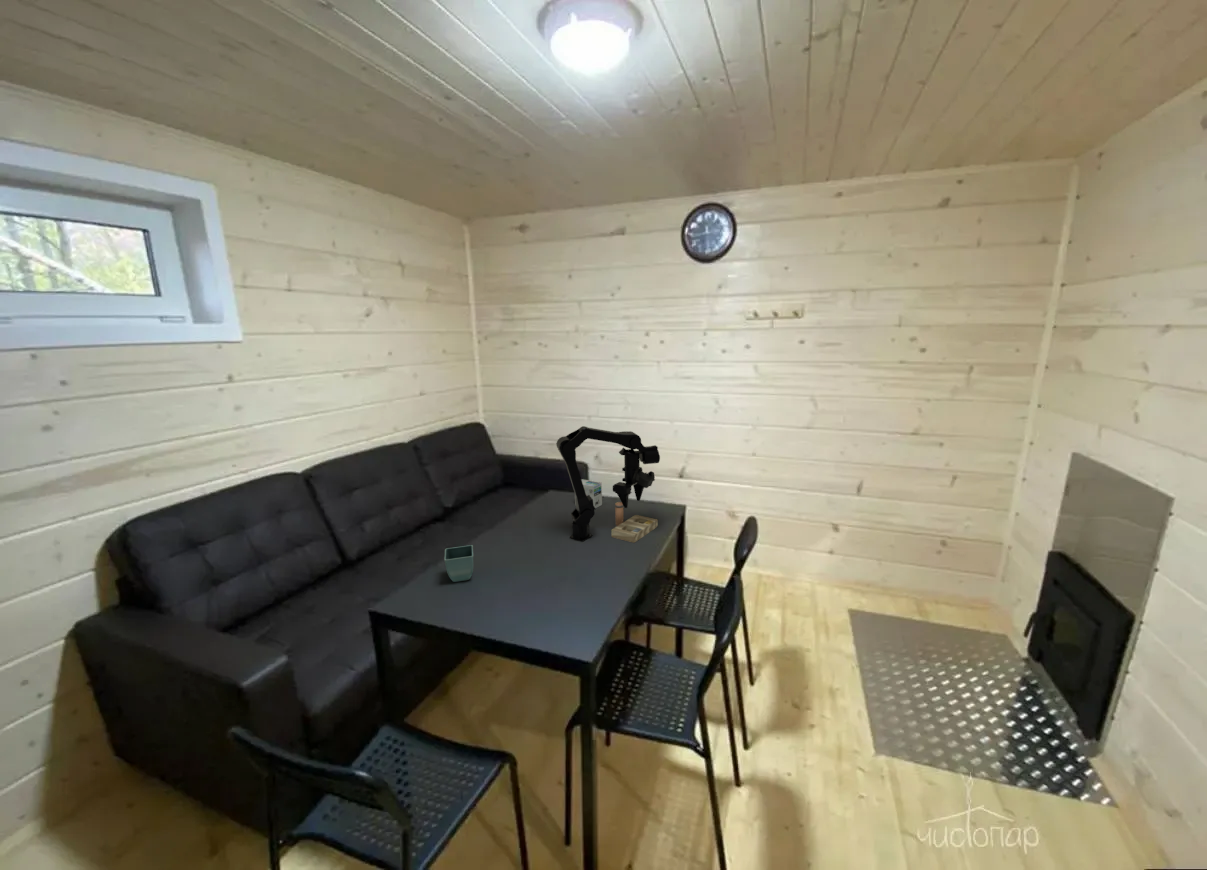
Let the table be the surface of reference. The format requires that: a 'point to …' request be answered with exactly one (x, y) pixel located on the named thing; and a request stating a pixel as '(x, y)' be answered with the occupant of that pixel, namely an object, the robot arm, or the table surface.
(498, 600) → the table surface
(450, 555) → the flower pot
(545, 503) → the table surface
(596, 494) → the light bulb box
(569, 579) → the table surface
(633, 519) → the socket block
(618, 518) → the plug
